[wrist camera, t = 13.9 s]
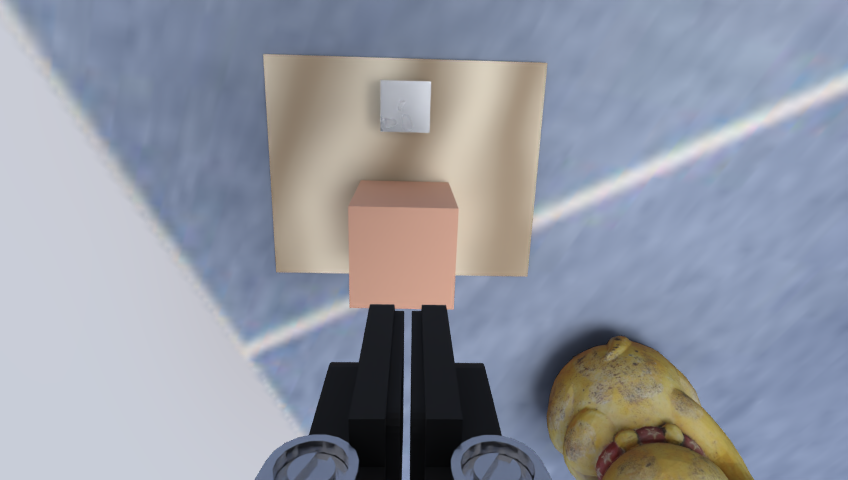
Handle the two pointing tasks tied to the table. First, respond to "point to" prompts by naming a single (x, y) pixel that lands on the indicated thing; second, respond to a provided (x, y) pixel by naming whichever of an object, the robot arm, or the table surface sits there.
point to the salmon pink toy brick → (402, 244)
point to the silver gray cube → (405, 106)
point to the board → (403, 153)
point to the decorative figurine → (635, 419)
